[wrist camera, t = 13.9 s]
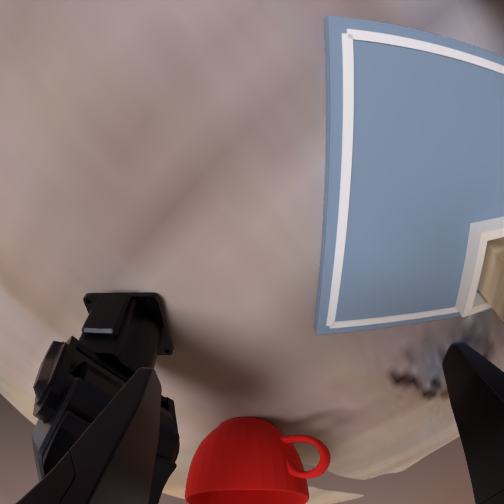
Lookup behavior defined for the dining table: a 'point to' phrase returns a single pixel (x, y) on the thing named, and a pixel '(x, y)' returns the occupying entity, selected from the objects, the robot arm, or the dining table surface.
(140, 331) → the robot arm
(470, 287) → the collar
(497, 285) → the maple pillar
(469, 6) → the dining table surface
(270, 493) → the ceramic cup
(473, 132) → the board
